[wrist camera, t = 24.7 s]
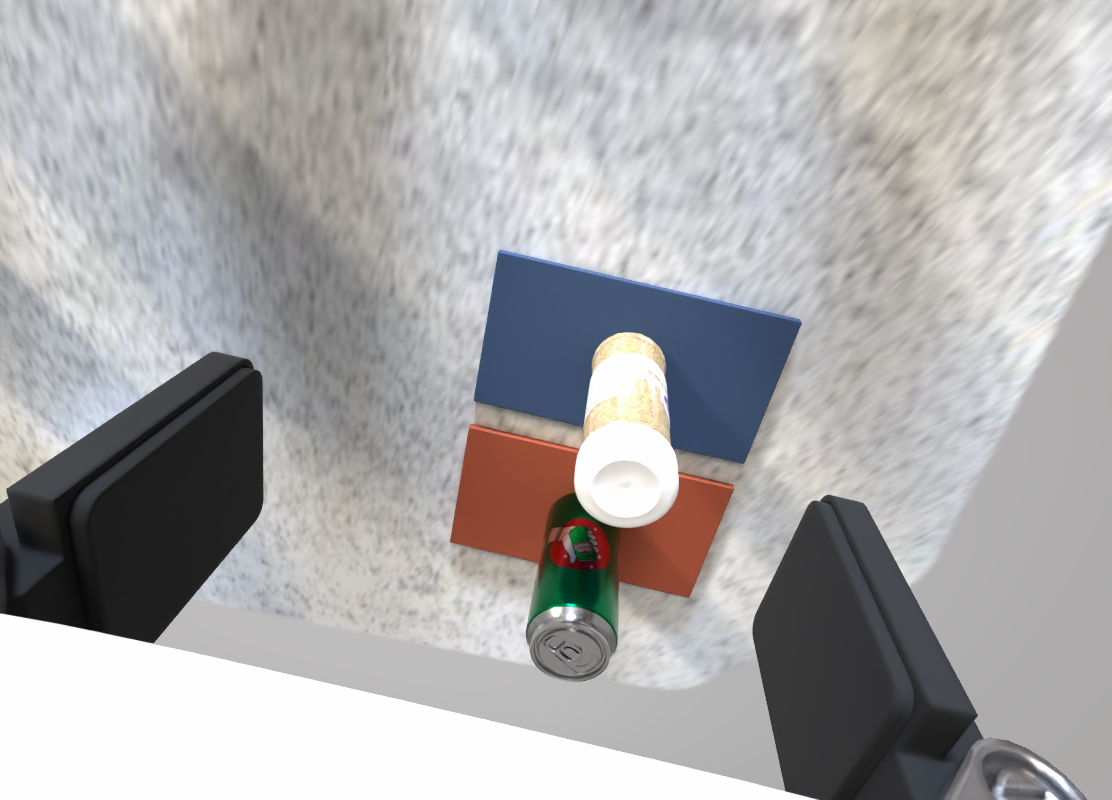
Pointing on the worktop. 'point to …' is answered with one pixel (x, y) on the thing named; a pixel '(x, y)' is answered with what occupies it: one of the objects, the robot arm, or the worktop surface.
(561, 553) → the soda can
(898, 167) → the worktop surface
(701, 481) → the terracotta mat
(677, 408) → the slate-blue mat
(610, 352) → the sprinkles bottle
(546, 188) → the worktop surface
